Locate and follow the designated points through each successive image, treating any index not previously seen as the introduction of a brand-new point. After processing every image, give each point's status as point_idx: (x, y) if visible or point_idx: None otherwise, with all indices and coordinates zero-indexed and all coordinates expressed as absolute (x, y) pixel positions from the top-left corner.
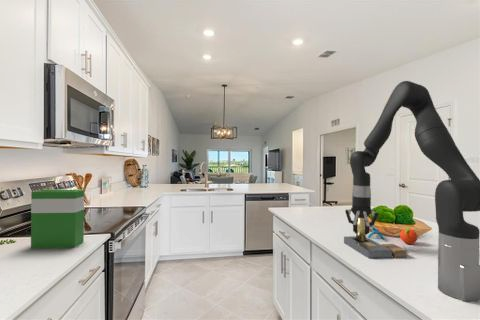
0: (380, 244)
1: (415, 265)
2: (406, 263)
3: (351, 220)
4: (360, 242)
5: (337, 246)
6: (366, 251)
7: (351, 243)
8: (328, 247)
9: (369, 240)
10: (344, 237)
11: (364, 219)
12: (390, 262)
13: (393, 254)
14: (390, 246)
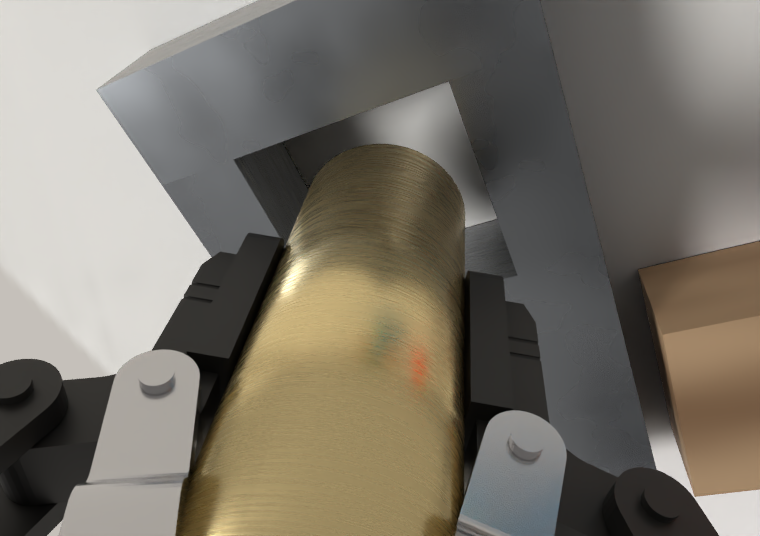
0: (624, 358)
1: (752, 522)
2: (698, 502)
3: (52, 482)
4: None
5: (99, 225)
6: None
7: None
8: (19, 278)
9: (528, 213)
10: (114, 107)
11: None
12: None
13: (675, 432)
14: (727, 406)
